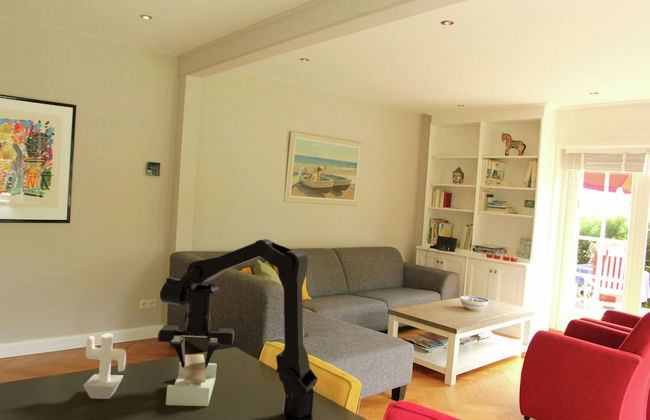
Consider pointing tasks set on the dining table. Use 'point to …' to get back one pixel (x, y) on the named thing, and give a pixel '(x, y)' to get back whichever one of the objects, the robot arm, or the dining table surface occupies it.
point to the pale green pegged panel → (191, 389)
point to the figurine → (104, 367)
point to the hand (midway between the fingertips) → (194, 367)
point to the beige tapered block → (194, 368)
